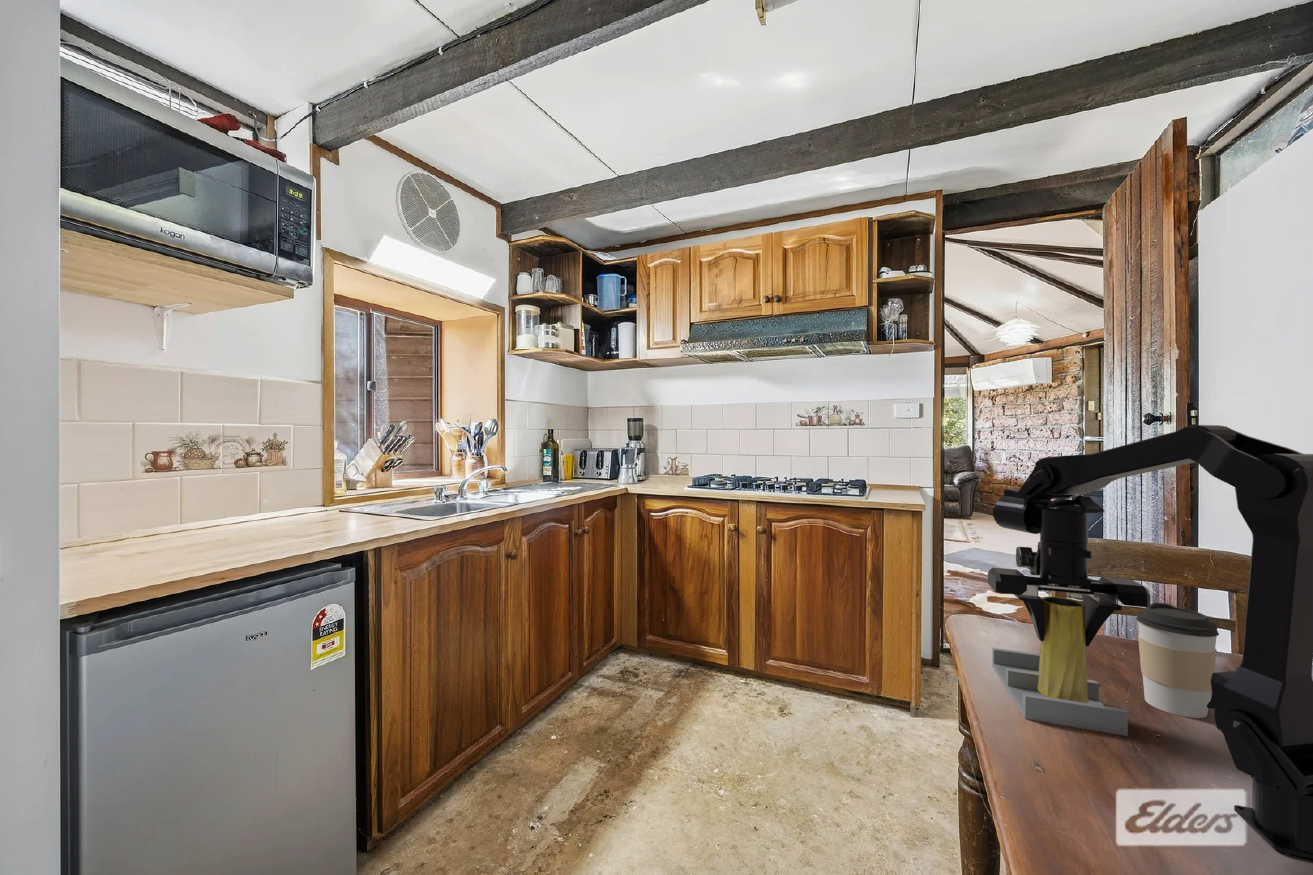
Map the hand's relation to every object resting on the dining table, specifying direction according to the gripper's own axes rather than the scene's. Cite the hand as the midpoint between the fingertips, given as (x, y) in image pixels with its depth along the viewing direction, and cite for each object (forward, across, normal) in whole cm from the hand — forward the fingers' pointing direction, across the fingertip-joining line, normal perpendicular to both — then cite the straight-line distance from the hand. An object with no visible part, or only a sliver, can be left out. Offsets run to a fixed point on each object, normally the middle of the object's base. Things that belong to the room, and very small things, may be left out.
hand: (1062, 642), depth 79 cm
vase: (+8, 0, 0) cm, 8 cm away
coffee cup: (+10, -17, -8) cm, 22 cm away
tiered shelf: (+10, 0, -5) cm, 11 cm away
